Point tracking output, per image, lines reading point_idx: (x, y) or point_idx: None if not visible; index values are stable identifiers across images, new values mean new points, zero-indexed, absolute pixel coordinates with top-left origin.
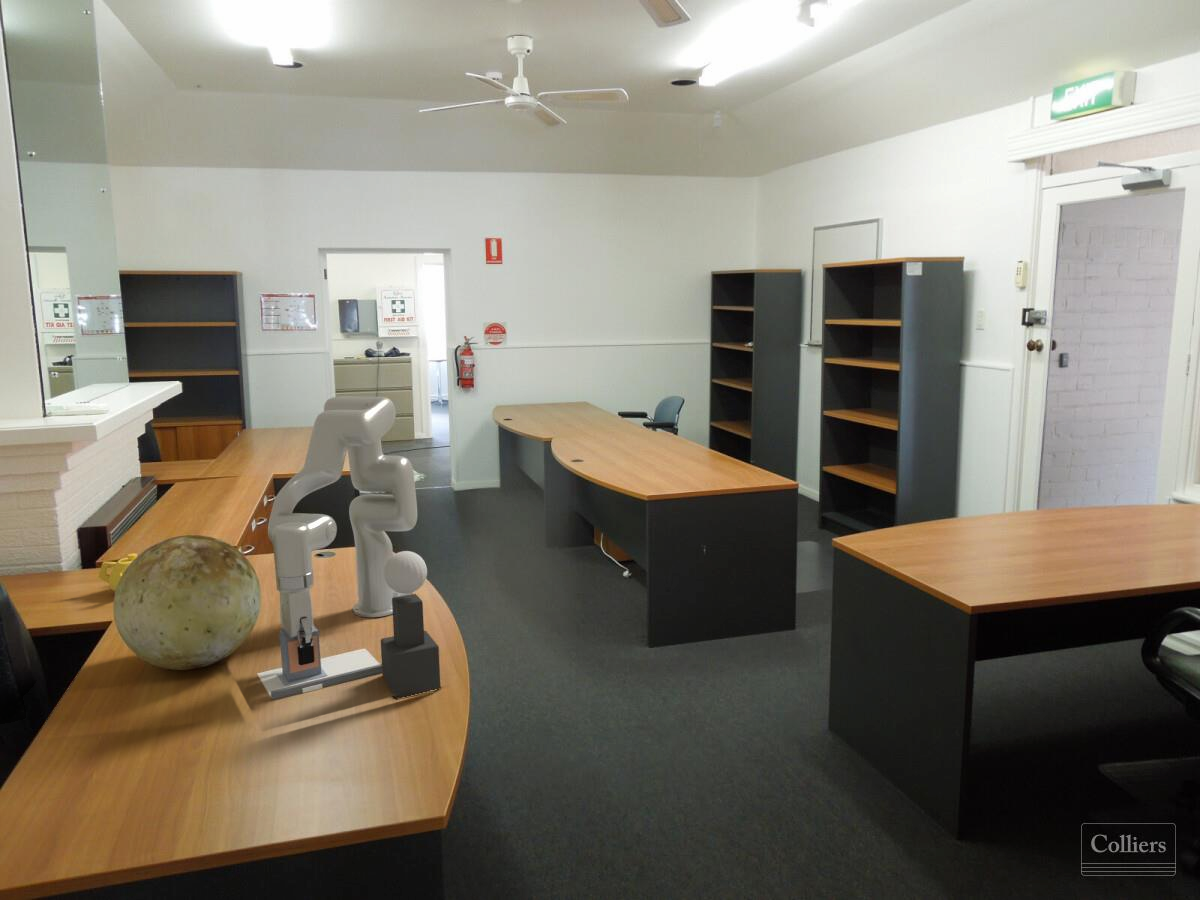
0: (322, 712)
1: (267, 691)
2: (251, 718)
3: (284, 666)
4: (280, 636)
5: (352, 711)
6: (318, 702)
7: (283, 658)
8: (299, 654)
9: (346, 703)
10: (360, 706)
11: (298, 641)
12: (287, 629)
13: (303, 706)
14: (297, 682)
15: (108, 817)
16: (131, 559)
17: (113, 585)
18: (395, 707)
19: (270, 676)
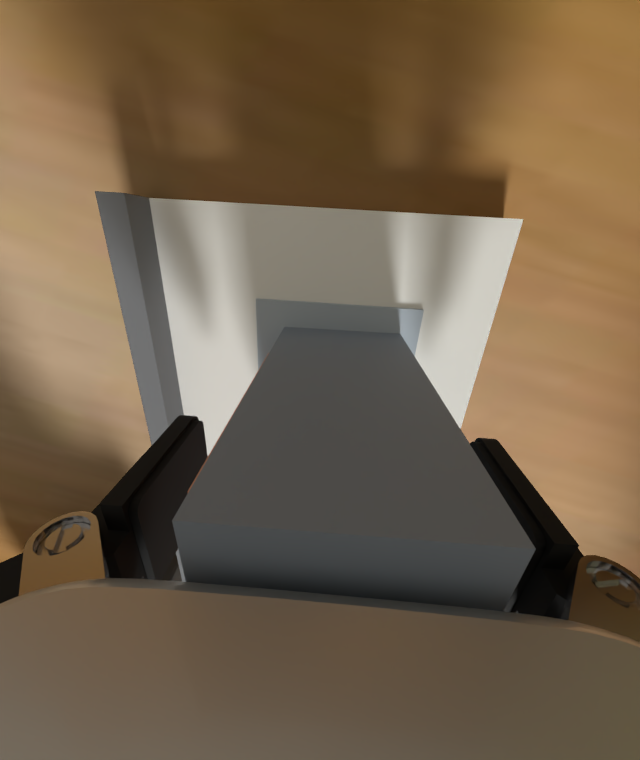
0: (25, 357)
1: (244, 203)
2: (50, 47)
3: (345, 351)
4: (448, 484)
5: (8, 432)
6: (116, 372)
7: (358, 370)
8: (141, 465)
9: (74, 438)
10: (38, 460)
11: (56, 573)
12: (106, 713)
13: (101, 317)
14: (258, 359)
15: None
16: None
17: None
18: (5, 518)
19: (423, 274)
